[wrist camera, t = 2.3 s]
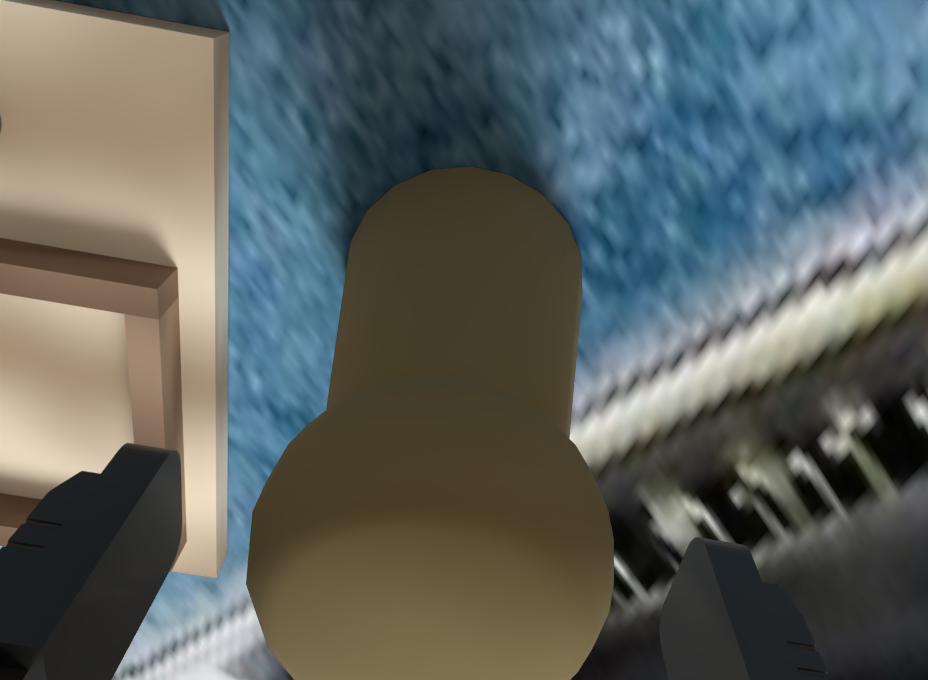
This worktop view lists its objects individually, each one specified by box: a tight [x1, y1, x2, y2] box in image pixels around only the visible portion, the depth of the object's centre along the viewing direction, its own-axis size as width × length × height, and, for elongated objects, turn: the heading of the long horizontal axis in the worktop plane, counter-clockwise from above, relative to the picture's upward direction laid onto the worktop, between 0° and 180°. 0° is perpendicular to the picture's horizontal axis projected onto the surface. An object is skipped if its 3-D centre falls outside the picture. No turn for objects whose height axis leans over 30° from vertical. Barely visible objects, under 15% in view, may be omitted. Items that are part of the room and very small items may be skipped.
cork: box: [246, 166, 614, 680], centre depth 14 cm, size 6×6×11 cm
